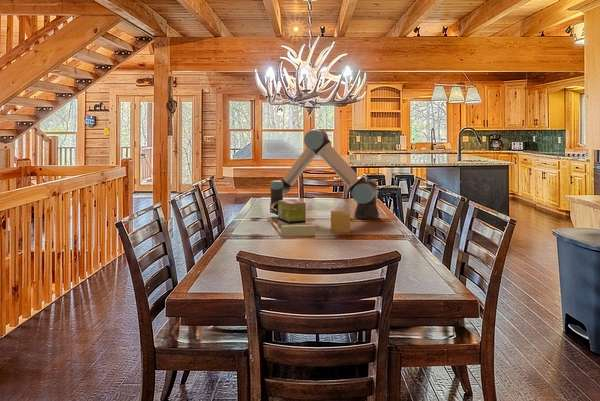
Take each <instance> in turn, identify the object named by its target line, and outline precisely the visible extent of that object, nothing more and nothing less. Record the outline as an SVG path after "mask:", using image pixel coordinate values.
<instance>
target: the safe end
mask: <svg viewBox="0 0 600 401" xmlns="http://www.w3.org/2000/svg"><path fill="white" fill-rule="evenodd" d="M276 231H277V233H278V234H279V235H280V237H297V236H298V237H300V236H301V237H305V236H306V237H307V236H316V225H315V224H306V225H295V226H281V227H280V229H277V230H276Z"/></svg>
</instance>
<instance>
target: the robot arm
mask: <svg viewBox="0 0 600 401" xmlns="http://www.w3.org/2000/svg"><path fill="white" fill-rule="evenodd" d="M303 142H304V144H305V147H306V148H305V149H304V150H303V152H301V153H300V155H299V156H298V158H297V159H296V161H295V162H294V163H293V164H292V166H291V167H290V169H289V170H287V173H285V175H284V176H283V177H282V179H281V180H271V181H270V186H269V187H270V204H269V213H271V214H274V215H277V216H278V200H284V195H285V194H286V195H287V194H288V193H289V192H291V189H292V187H293V185H294V184H295V183H296V181H297V180H298V179H299V178H300V177H301V175H302V174H303V172H304V171H305V170H306V169H307V168H308V166H309V165H310V164H311V162H312V161H313V160H314V159H315V157H316V156H318V157H321V158H322V159H323V161H325V163H326V164H327V165H328V166H329V168H331V169H332V171H334V173H335V174H336V175H337V176H338V178H340V179H341V181H343V183H344V184H345V185H346V186H347V191H348V192H349V193H350V195H351V196H352V198H353V200H354V201H355V202H356V208H355V211H354V213H353V218H355V219H359V220H360V219H361V220H376V219H379V218H380V212H379V210H378V206H377V193H378V190H377V189H378V188H377V187H378V183H377V180H375V179H365V177H364V176H360V175H358V174H357V173H356V172H355V170H353V168H352V167H351V166H350V165H349V164H348V163H347V161H345V160H344V159H343V157H342V155H340V154H339V153H338V152H337V151H336V149H334V147H333V146H332V141H331V140H330V138H329V135H328V134H327V132H326V131H325V130H323V129H317V128H313V129H310V130H308V131H307V132H306V133H305V135H304V138H303Z"/></svg>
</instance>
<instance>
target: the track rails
mask: <svg viewBox="0 0 600 401" xmlns="http://www.w3.org/2000/svg"><path fill="white" fill-rule="evenodd" d="M273 220H274V219H273V218H272V217H268V218H267V221H268V222H269V223H270V225H272V227H273V228H274V229H275V230H276V231H277V229H281V227H280V226H278V224H276V223H275V222H274V221H273Z"/></svg>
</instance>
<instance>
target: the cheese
mask: <svg viewBox="0 0 600 401" xmlns="http://www.w3.org/2000/svg"><path fill="white" fill-rule="evenodd" d="M350 231H351V212H346V211H339V210H331V211H330V233H335V234H338V233H340V234H341V233H342V234H347V233H350Z"/></svg>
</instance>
